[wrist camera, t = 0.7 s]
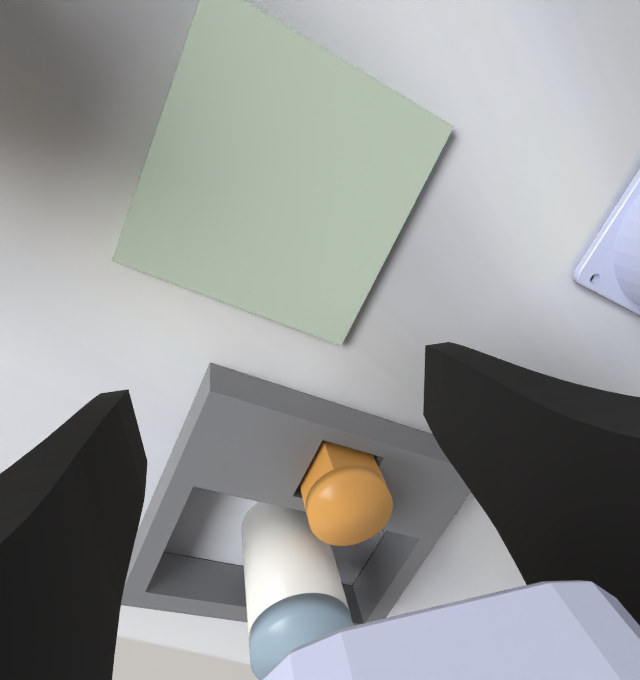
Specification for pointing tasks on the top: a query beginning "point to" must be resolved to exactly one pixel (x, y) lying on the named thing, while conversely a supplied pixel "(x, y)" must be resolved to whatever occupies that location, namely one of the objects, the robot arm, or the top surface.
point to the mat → (276, 174)
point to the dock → (285, 492)
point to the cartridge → (287, 585)
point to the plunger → (345, 495)
